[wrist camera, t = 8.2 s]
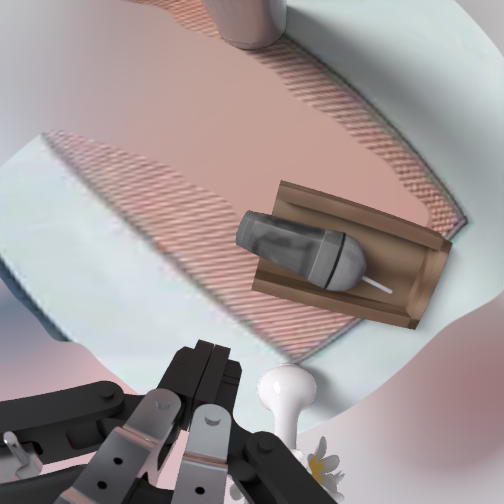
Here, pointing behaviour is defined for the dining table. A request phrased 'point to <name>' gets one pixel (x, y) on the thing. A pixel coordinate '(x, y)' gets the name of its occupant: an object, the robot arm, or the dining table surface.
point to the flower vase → (295, 422)
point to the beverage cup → (306, 250)
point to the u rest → (377, 259)
